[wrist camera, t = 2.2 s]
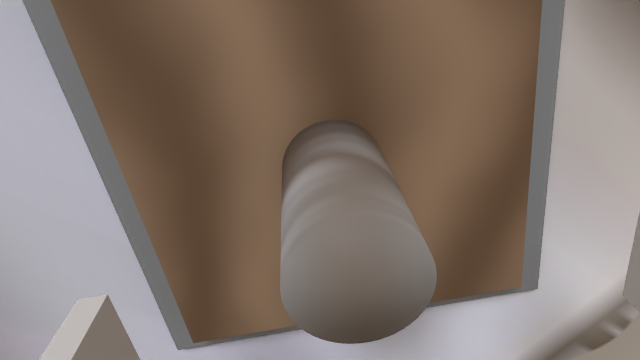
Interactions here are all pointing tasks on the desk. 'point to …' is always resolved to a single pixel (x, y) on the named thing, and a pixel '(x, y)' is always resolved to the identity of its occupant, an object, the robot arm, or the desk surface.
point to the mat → (124, 204)
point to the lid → (318, 151)
